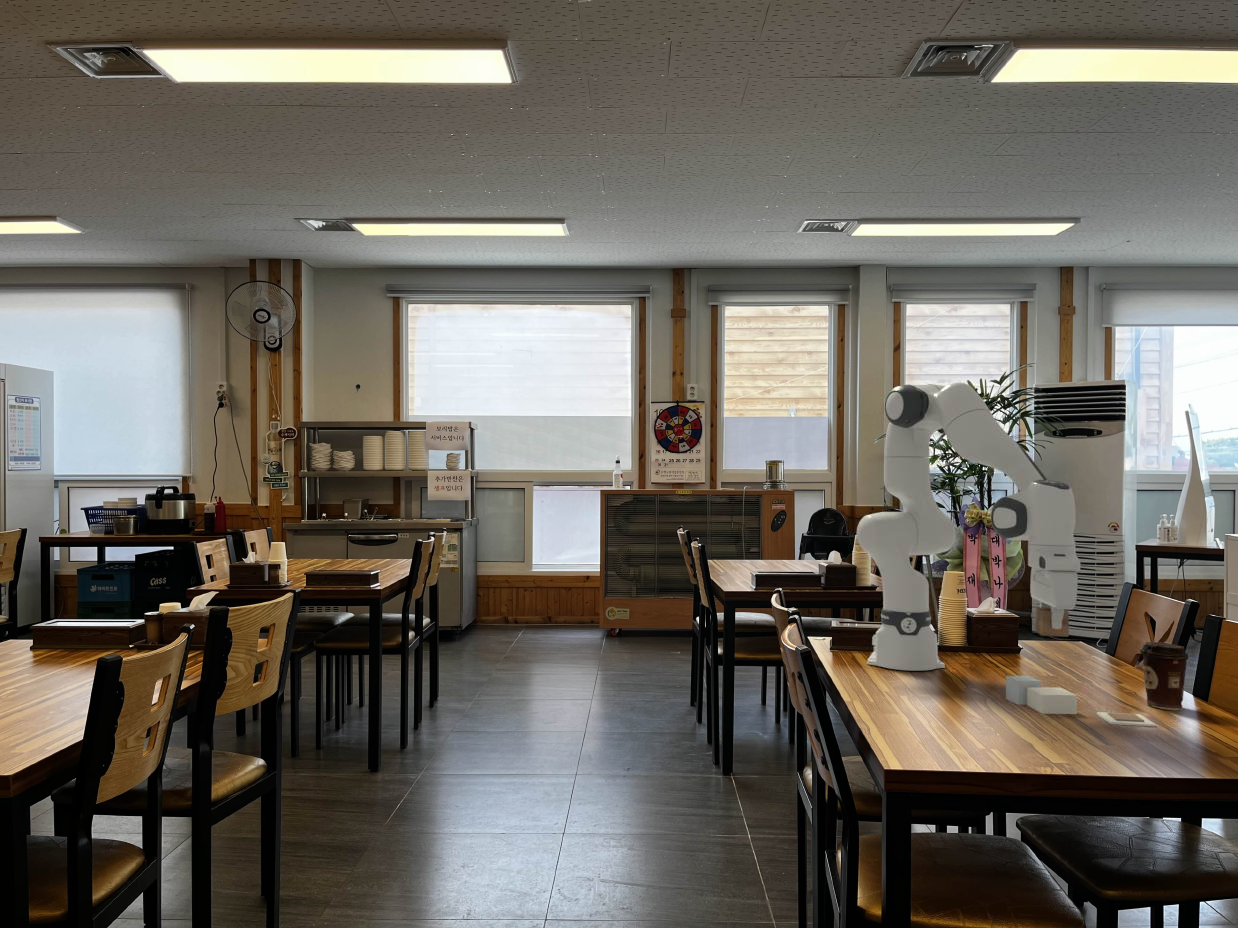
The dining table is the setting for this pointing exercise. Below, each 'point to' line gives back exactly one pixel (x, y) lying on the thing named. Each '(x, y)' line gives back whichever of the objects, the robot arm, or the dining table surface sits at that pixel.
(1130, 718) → the tile
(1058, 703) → the plinth block
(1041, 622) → the walnut cube
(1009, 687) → the grey cube
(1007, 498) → the robot arm
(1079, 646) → the dining table surface
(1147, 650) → the coffee cup
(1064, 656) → the dining table surface
